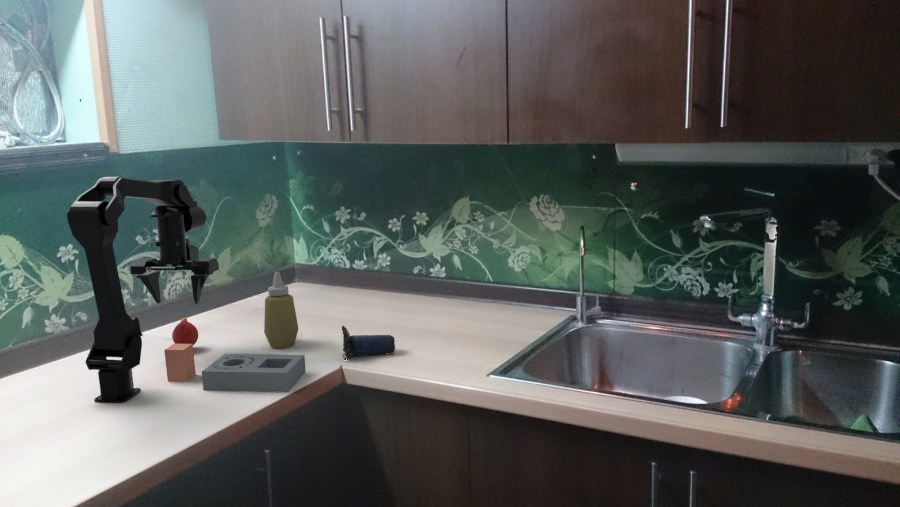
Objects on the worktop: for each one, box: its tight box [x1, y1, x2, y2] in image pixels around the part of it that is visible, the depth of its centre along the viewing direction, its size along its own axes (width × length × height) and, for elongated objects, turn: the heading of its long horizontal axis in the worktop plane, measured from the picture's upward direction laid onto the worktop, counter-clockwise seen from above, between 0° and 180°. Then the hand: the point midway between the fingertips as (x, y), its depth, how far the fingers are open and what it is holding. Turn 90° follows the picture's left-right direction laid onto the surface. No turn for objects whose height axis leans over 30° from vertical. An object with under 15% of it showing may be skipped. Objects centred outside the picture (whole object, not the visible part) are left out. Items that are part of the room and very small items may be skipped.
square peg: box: [164, 343, 196, 383], centre depth 160 cm, size 4×4×7 cm
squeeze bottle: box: [263, 271, 300, 349], centre depth 179 cm, size 8×8×18 cm
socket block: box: [201, 353, 307, 393], centre depth 157 cm, size 11×18×4 cm, turn 82°
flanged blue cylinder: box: [341, 325, 396, 361], centre depth 172 cm, size 9×8×12 cm
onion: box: [171, 317, 199, 346], centre depth 179 cm, size 6×6×8 cm
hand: (177, 303), depth 171 cm, fingers open, 9 cm apart
